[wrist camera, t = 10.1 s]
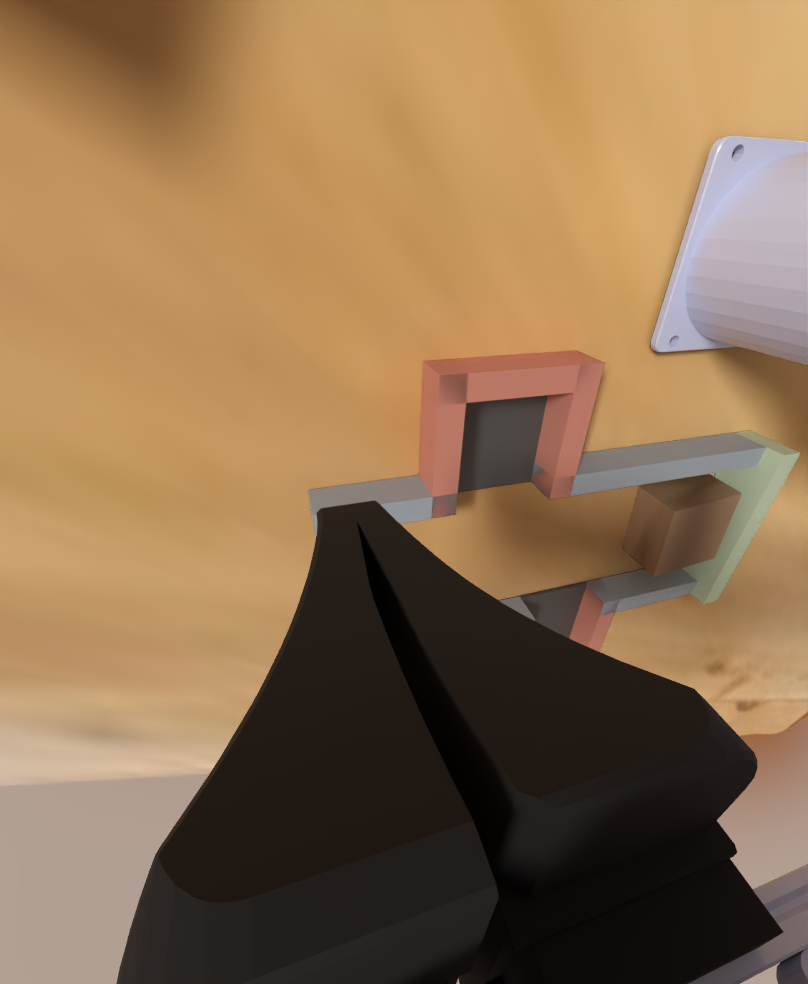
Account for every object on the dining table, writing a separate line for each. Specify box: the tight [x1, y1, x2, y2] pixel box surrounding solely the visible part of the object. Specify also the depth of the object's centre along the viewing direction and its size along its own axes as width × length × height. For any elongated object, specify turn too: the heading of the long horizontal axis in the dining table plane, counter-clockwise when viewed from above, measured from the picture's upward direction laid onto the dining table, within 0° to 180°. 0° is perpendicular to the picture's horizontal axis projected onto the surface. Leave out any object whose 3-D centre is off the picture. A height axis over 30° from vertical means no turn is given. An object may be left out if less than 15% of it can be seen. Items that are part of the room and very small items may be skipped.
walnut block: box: [623, 474, 742, 577], centre depth 27 cm, size 4×5×3 cm
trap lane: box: [308, 351, 801, 652], centre depth 25 cm, size 26×22×3 cm
